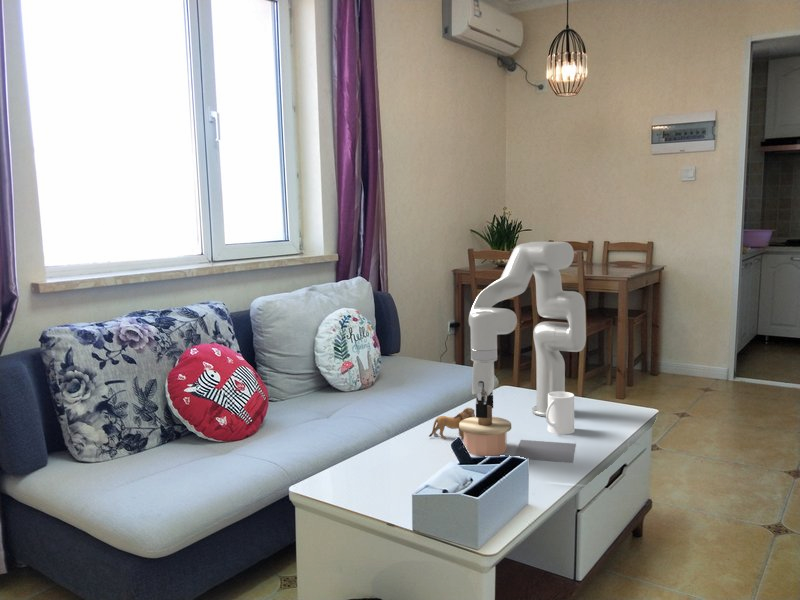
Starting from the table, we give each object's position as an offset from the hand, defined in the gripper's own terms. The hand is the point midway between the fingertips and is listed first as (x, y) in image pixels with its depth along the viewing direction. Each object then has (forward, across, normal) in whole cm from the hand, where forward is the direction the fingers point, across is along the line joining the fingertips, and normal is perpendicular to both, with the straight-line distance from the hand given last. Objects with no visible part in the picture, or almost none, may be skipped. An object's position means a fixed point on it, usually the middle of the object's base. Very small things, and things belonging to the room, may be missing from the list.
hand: (484, 412), depth 195 cm
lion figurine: (+12, -10, -12) cm, 20 cm away
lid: (+4, 0, 0) cm, 4 cm away
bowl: (+11, 0, 0) cm, 11 cm away
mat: (+11, -2, +17) cm, 21 cm away
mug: (+12, -21, +19) cm, 31 cm away
